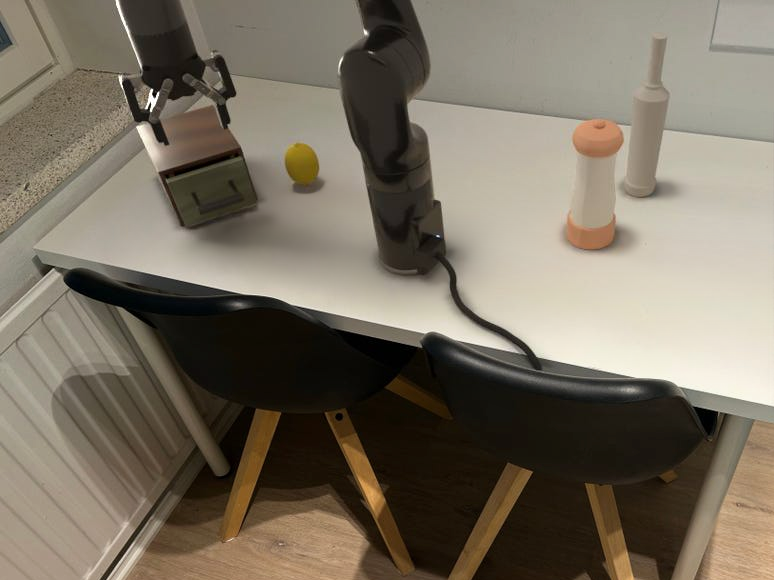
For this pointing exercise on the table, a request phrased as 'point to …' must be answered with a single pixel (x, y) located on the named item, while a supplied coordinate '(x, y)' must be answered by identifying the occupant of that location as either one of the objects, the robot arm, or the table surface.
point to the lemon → (301, 163)
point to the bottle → (647, 125)
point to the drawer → (211, 189)
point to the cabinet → (189, 145)
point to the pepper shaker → (594, 184)
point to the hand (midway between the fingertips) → (195, 134)
